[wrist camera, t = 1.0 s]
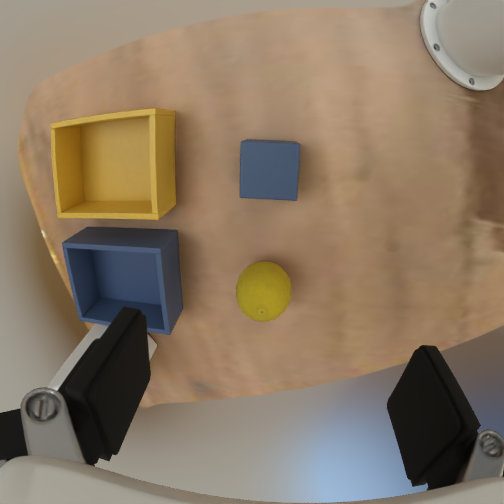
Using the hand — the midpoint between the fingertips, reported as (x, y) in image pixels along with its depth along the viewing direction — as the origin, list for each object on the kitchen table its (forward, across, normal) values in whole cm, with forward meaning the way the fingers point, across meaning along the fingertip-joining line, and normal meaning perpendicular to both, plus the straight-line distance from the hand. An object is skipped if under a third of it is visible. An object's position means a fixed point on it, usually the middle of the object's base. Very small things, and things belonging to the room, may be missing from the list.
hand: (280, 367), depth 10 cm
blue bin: (+24, +16, +10) cm, 31 cm away
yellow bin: (+24, +17, -3) cm, 30 cm away
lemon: (+24, 0, +8) cm, 26 cm away
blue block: (+24, +1, -4) cm, 24 cm away
